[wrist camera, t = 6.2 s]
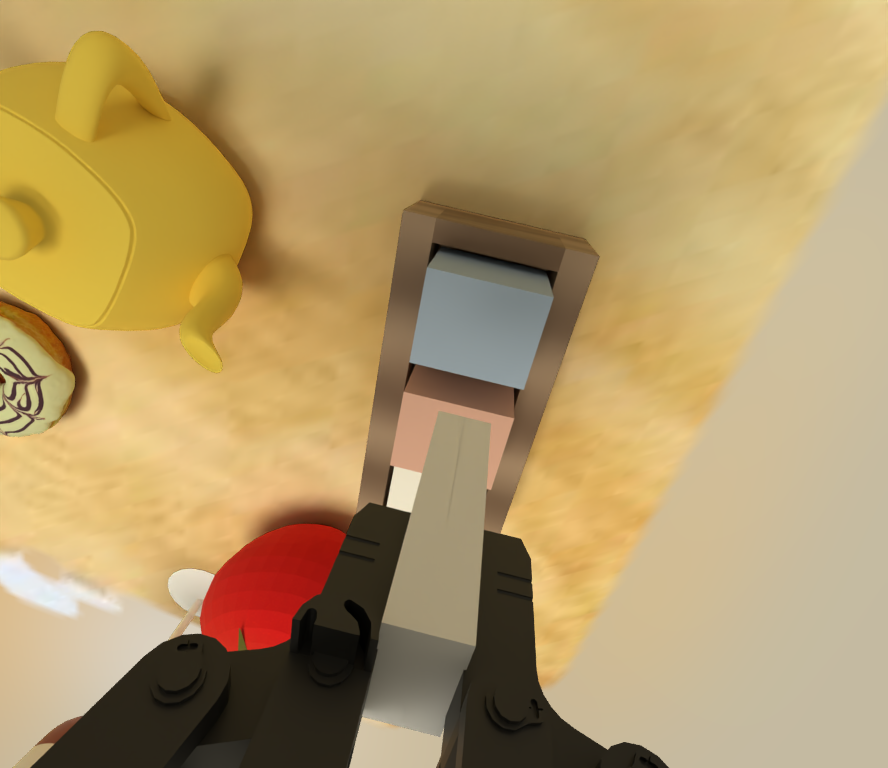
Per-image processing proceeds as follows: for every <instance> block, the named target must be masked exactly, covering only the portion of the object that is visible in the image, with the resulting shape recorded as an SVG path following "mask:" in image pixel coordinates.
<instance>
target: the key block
mask: <svg viewBox="0 0 888 768" xmlns="http://www.w3.org/2000/svg"><path fill="white" fill-rule="evenodd" d="M441 247H446V248H450V249H455V250H459V251H463V252H467V253H471V254H476V255H480V256H484V257H488V258H493V259H497V260H501V261H505V262H509V263H514V264H518V265H522V266H526V267H531V268H535V269H539V270H543V271H546V273H547V276H548V279H549V283H550V286H551V290H552V293H553V296H554V298H553V301H552V304H551V308H550V311H549V314H548V317H547V320H546V323H545V326H544V329H543V332H542V335H541V338H540V341H539V344H538V347H537V350H536V354H535V357H534V360H533V363H532V366H531V369H530V372H529V375H528V378H527V381H526V384H525V387H524V390H522V389H517V388H514V421H513V424H512V427H511V430H510V433H509V436H508V439H507V443H506V446H505V449H504V452H503V455H502V458H501V461H500V464H499V467H498V470H497V473H496V476H495V479H494V482H493V485H492V489H491V490H489V489H487V490H486V505H485V519H484V530H487V531H491V532H495V533H499V534H500V533H501V530H502V527H503V524H504V521H505V519H506V516H507V513H508V510H509V507H510V505H511V502H512V499H513V496H514V493H515V491H516V488H517V485H518V482H519V480H520V477H521V474H522V471H523V468H524V466H525V463H526V460H527V457H528V454H529V452H530V449H531V446H532V443H533V440H534V438H535V435H536V432H537V429H538V427H539V424H540V421H541V418H542V415H543V413H544V410H545V407H546V404H547V401H548V399H549V396H550V393H551V390H552V387H553V385H554V382H555V379H556V376H557V374H558V371H559V368H560V365H561V362H562V360H563V357H564V354H565V351H566V348H567V346H568V343H569V340H570V337H571V334H572V332H573V329H574V326H575V323H576V320H577V318H578V315H579V312H580V309H581V307H582V304H583V301H584V298H585V295H586V293H587V290H588V287H589V284H590V281H591V279H592V276H593V273H594V270H595V267H596V265H597V262H598V259H599V255H598V254H597V253H596V252H595V251H594V249H593V248H592V247H591V246H590V244H589V243H588V242H587V241H586V240H585V239H583V238H578V237H574V236H570V235H566V234H561V233H557V232H553V231H549V230H544V229H540V228H536V227H532V226H527V225H523V224H519V223H515V222H510V221H506V220H502V219H498V218H493V217H489V216H485V215H481V214H476V213H472V212H468V211H464V210H459V209H455V208H451V207H447V206H442V205H438V204H434V203H430V202H425V201H421V200H420V201H418V202H416V203H415V204H413V205H411V206H409V207H408V208H406V209H404V210H403V214H402V220H401V227H400V233H399V240H398V246H397V253H396V259H395V266H394V272H393V279H392V285H391V292H390V298H389V305H388V311H387V318H386V324H385V331H384V337H383V343H382V350H381V356H380V363H379V369H378V376H377V382H376V389H375V395H374V402H373V408H372V415H371V421H370V428H369V434H368V441H367V447H366V454H365V460H364V467H363V473H362V480H361V486H360V493H359V499H358V506H357V512H356V514H357V513H358V512H359V511H360V510H361V509H363V508H364V507H365V506H366V505H367V504H368V503H369V502H370V503H374V504H378V505H382V506H387V501H388V496H389V491H390V486H391V481H392V475H393V470H394V466H391V465H390V462H391V457H392V452H393V446H394V441H395V436H396V430H397V425H398V420H399V414H400V409H401V404H402V398H403V393H404V390H405V388H406V385H407V383H408V381H409V379H410V376H411V374H412V372H413V369H414V367H415V365H416V364H414V363H410V362H409V361H410V356H411V350H412V345H413V340H414V334H415V329H416V324H417V318H418V313H419V308H420V302H421V297H422V292H423V286H424V281H425V276H426V270H427V267H428V265H429V264H430V262H431V261H432V259H433V258H434V257H435V255H436V254H437V252H438V251H439V249H440V248H441Z"/></svg>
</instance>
